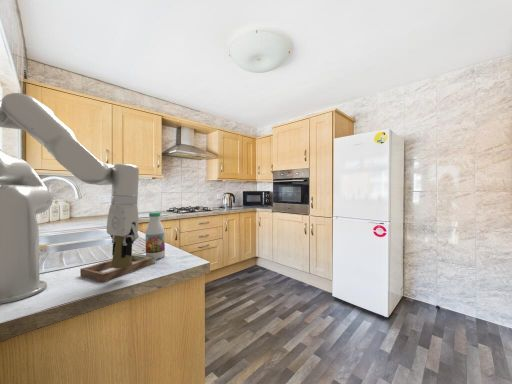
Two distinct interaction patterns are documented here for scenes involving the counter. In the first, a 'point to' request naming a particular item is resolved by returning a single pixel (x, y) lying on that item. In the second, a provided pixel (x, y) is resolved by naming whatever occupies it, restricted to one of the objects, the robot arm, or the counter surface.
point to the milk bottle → (155, 236)
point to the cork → (117, 259)
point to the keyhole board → (94, 270)
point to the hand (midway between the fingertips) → (121, 255)
